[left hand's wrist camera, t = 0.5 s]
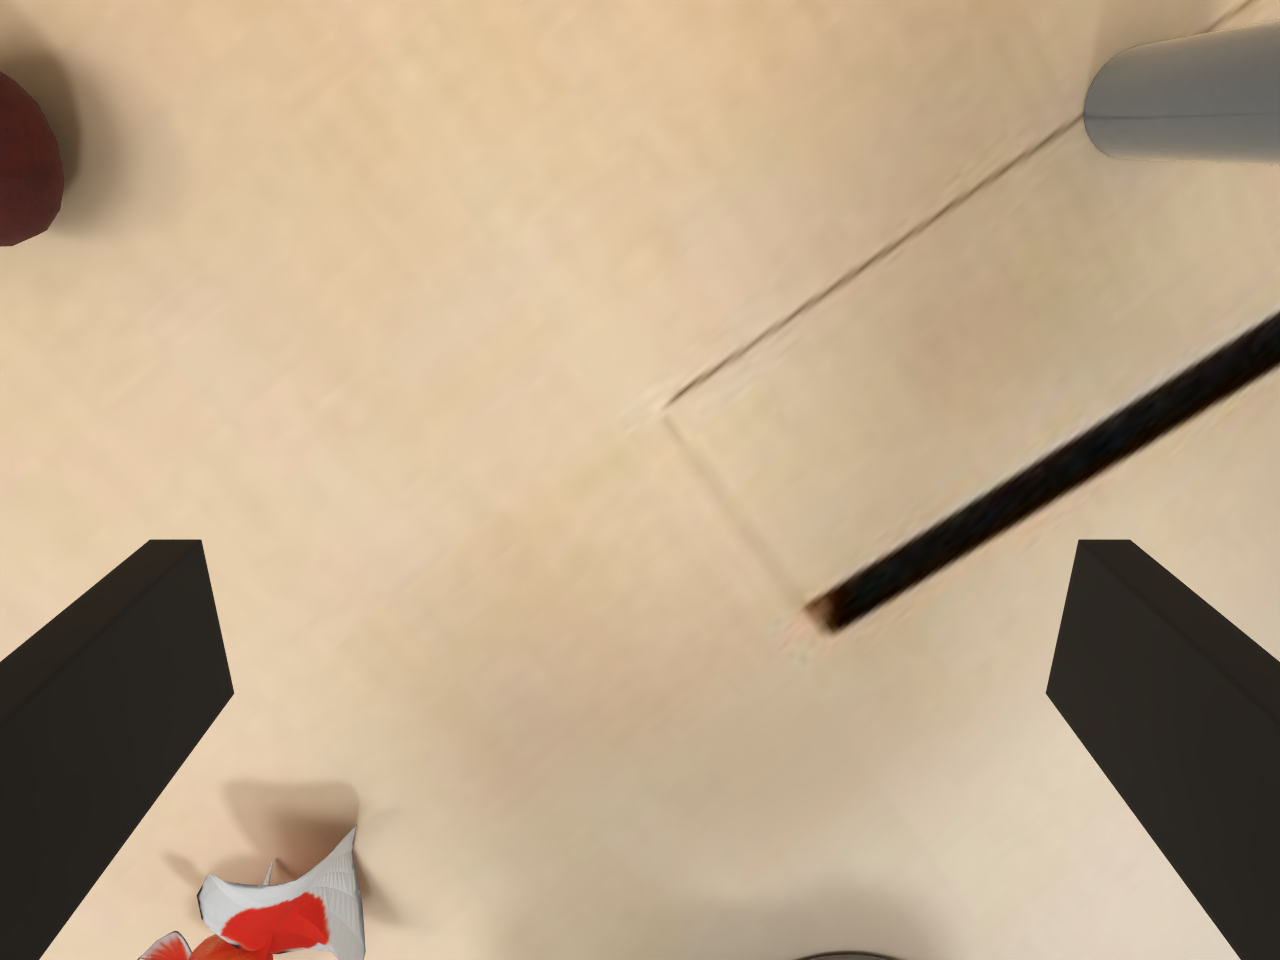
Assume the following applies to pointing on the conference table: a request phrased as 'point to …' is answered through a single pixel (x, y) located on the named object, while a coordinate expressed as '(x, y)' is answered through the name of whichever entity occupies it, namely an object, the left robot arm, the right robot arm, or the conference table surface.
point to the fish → (278, 915)
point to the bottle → (1192, 99)
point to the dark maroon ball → (26, 166)
